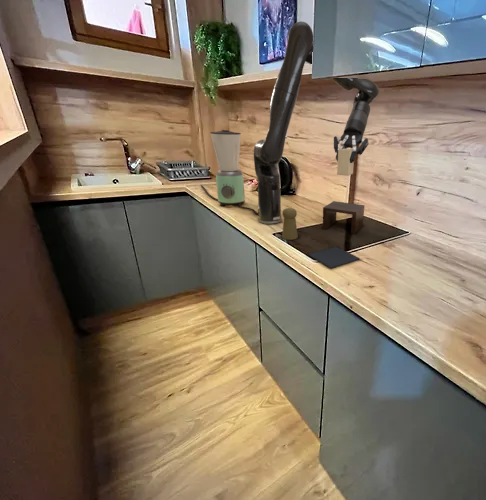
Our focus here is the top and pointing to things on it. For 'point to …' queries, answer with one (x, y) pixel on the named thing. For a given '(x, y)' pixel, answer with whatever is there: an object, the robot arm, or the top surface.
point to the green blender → (228, 168)
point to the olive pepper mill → (289, 224)
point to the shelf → (346, 208)
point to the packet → (344, 162)
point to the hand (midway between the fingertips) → (344, 160)
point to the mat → (333, 257)
